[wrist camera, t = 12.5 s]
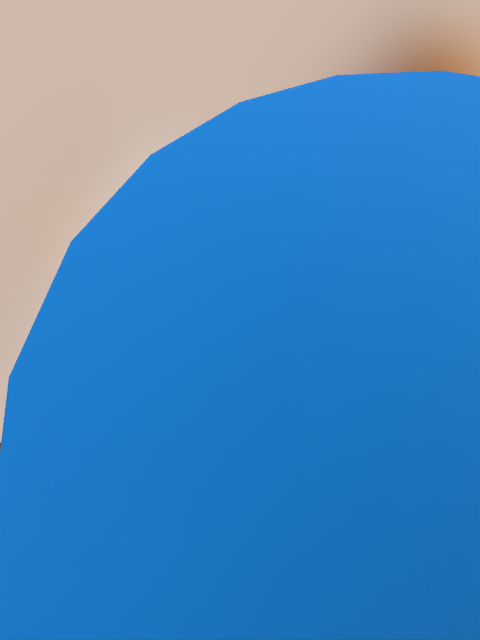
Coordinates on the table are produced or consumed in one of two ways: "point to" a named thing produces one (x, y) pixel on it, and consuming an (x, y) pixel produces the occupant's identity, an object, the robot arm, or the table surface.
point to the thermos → (262, 384)
